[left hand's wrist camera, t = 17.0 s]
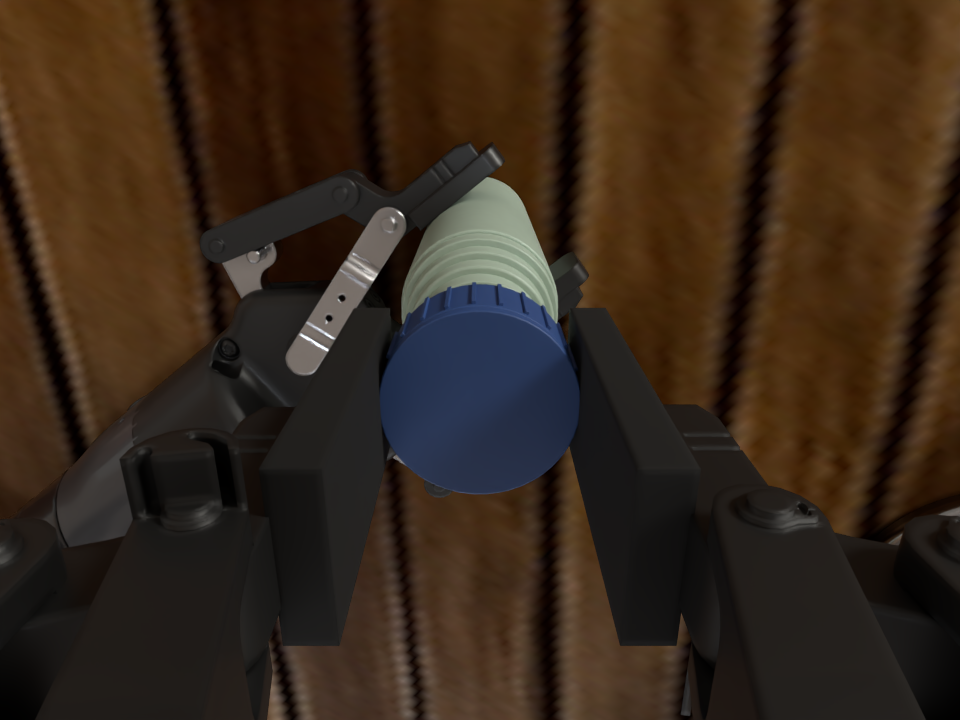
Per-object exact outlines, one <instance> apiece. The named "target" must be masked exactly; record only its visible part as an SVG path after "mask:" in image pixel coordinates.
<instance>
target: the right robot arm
mask: <svg viewBox="0 0 960 720" xmlns="http://www.w3.org/2000/svg"><path fill="white" fill-rule="evenodd" d="M504 162H505V159H504V157H503V156H502V154H501V153H500V152H499V150H498V149H497V148H496V146H495V145H494V144H493V142H491V143H490V144H488V145H487V146H486V147H484V148H483V149H482V150H481V151H479V152H478V151H477V149H476V148H475V147H474V145H473V144H472V143H471V141H469V142H466V143H463V144H460V145H456V146H455V147H454V148H452V149H451V150H450V151H449V152H448V153H446V154H445V155H444V156H443V157H442V158H440V159H439V160H438V161H437V162H436V163H434V164H433V165H432V166H431V167H430V168H428V169H427V170H426V171H425V172H424V173H422V174H421V175H420V176H419V177H418V178H416V179H415V180H414V181H413V182H412V183H410V184H409V185H408V186H407V187H405V188H404V189H402V190H400V191H395V192H390V191H386V190H384V189H382V188H380V187H378V186H377V185H375V184H373V183H372V182H370V181H369V180H367V178H366V176H365V175H364V174H363V173H362V172H360V171H358V170H355V169H349V170H346V171H343V172H341V173H339V174H336V175H334V176H332V177H329V178H327V179H324V180H322V181H320V182H317V183H315V184H313V185H310V186H308V187H305V188H303V189H301V190H298V191H296V192H294V193H291V194H289V195H287V196H284V197H282V198H279V199H277V200H275V201H272V202H270V203H268V204H265V205H263V206H261V207H258V208H256V209H253V210H251V211H249V212H246V213H244V214H242V215H239V216H237V217H234V218H232V219H230V220H228V221H226V222H224V223H222V224H220V225H218V226H216V227H214V228H212V229H210V230H208V231H206V232H205V233H204V234H203V235H202V237H201V239H200V248H201V251H202V253H203V254H204V256H205V257H206V258H207V259H209V260H210V261H212V262H215V263H222V264H223V266H224V268H225V269H226V271H227V273H228V275H229V277H230V279H231V280H232V282H233V284H234V286H235V288H236V290H237V291H238V293H239V295H240V297H241V300H240V301H239V303H238V304H237V306H236V309H235V312H234V316H233V319H232V321H231V323H230V325H229V326H228V328H227V329H225V330H224V331H223V332H222V333H221V334H220V335H218V336H217V337H216V338H215V339H214V340H212V341H211V342H210V343H209V344H208V345H206V346H205V347H204V348H203V349H202V350H200V351H199V352H198V353H197V354H196V355H194V356H193V357H192V358H191V359H190V360H188V361H187V362H186V363H185V364H184V365H182V366H181V367H180V368H179V369H178V370H176V371H175V372H174V373H173V374H172V375H170V376H169V377H168V378H167V379H166V380H164V381H163V382H162V383H161V384H160V385H158V386H157V387H156V388H155V389H154V390H153V391H151V392H150V393H149V394H148V395H146V396H144V397H142V398H140V399H139V400H137V401H136V402H134V403H133V404H132V405H131V406H130V407H129V409H128V410H127V412H126V413H125V414H124V415H123V416H121V417H120V418H119V419H118V420H117V421H115V422H114V423H113V424H112V425H110V426H109V427H108V428H107V429H106V430H105V431H104V432H103V433H102V434H101V435H100V436H99V437H98V438H97V439H96V440H95V441H94V442H93V443H92V444H91V445H90V447H89V448H88V449H87V450H86V451H85V453H84V454H83V455H82V456H81V457H80V458H79V460H78V461H77V462H76V463H74V464H73V465H72V466H71V467H70V468H69V469H68V470H67V471H66V472H65V473H63V474H62V475H61V476H60V477H58V478H57V479H56V480H55V481H54V482H52V483H51V484H50V485H49V486H48V487H46V488H45V489H44V490H43V491H42V492H40V493H39V494H38V495H37V496H36V497H34V498H32V499H31V500H30V501H29V502H28V503H26V504H25V505H24V506H23V507H22V508H20V509H19V510H18V511H17V512H16V513H15V514H14V515H13V516H11V517H10V519H16V518H34V519H40V520H45V521H47V522H48V523H50V524H51V525H52V526H53V527H55V528H56V532H57V535H58V539H59V542H60V546H61V549H62V548H67V547H73V546H78V545H83V544H89V543H94V542H99V541H104V540H109V539H113V538H117V537H122V536H125V535H126V533H127V531H128V529H129V526H130V524H131V522H132V520H133V518H132V514H131V509H130V505H129V500H128V496H127V492H126V487H125V483H124V478H123V474H122V469H121V465H120V461H119V459H120V458H121V457H122V456H123V455H124V454H125V453H126V452H127V451H128V450H129V449H130V448H131V447H133V446H135V445H137V444H139V443H141V442H142V441H144V440H146V439H148V438H151V437H154V436H157V435H160V434H164V433H167V432H170V431H176V430H182V429H189V428H214V429H218V430H223V431H227V432H229V433H231V434H232V433H233V431H234V430H235V429H236V427H237V426H238V425H239V423H240V422H241V420H243V419H245V418H246V417H248V416H250V415H251V414H253V413H254V412H256V411H258V410H259V409H261V408H262V407H296V405H297V404H298V402H299V400H300V399H301V397H302V395H303V393H304V392H305V390H306V388H307V387H308V385H309V383H310V382H311V380H312V378H313V377H314V375H315V373H316V371H317V370H318V368H319V366H320V365H321V363H322V361H323V360H324V358H325V356H326V355H327V353H328V351H329V350H330V348H331V346H332V344H333V343H334V341H335V339H336V338H337V336H338V334H339V333H340V331H341V329H342V328H343V326H344V324H345V322H346V321H347V319H348V317H349V316H350V314H351V312H352V311H353V309H354V308H386V306H385V304H384V302H383V300H382V299H381V298H380V297H379V295H378V294H377V293H376V292H375V291H374V290H373V289H372V287H371V285H372V283H373V282H374V280H375V278H376V277H377V275H378V274H379V272H380V270H381V269H382V267H383V266H384V264H385V263H386V261H387V260H388V258H389V257H390V255H391V253H392V252H393V250H394V249H395V247H396V246H397V244H398V243H399V241H400V240H401V238H402V237H404V236H405V235H406V234H407V233H408V232H410V231H411V230H412V229H413V228H415V227H416V226H417V227H418V228H419V229H420V230H422V229H423V228H425V227H426V226H427V225H428V224H430V223H431V222H432V221H433V220H435V219H436V218H437V217H438V216H439V215H440V214H441V213H443V212H444V211H446V210H447V209H448V208H449V207H451V206H452V205H453V204H454V203H456V202H457V201H458V200H459V199H461V198H462V197H463V196H464V195H465V194H467V193H468V192H469V191H470V190H472V189H473V188H474V187H475V186H477V185H478V184H479V183H480V182H482V181H483V180H484V179H485V178H487V177H488V176H489V175H490V174H491V173H493V172H494V171H495V170H496V169H498V168H499V167H500V166H501V165H502V164H503V163H504ZM341 214H345V215H346V216H348V217H350V218H351V219H353V220H355V221H356V222H358V223H360V224H361V225H363V226H365V227H366V228H365V230H364V231H363V233H362V235H361V236H360V238H359V239H358V241H357V243H356V244H355V246H354V247H353V249H352V251H351V252H350V254H349V255H348V257H347V258H346V260H345V261H344V263H343V264H342V266H341V267H340V269H339V270H338V272H337V274H336V275H335V277H334V278H333V280H325V281H299V282H273V283H270V282H269V280H268V269H269V267H270V266H271V265H272V264H274V263H275V262H276V261H277V260H279V259H280V257H281V256H282V253H283V245H282V242H281V240H280V239H283V238H285V237H288V236H290V235H292V234H295V233H297V232H300V231H302V230H305V229H307V228H309V227H312V226H314V225H317V224H319V223H321V222H324V221H326V220H329V219H331V218H334V217H336V216H338V215H341ZM549 269H550V271H551V274H552V276H553V279H554V282H555V285H556V290H557V296H558V319H557V320H559V319H560V318H561V317H562V316H564V315H566V314H567V313H568V312H569V311H570V308H575V307H576V306H577V304H578V303H579V301H580V300H581V298H582V297H583V294H582V292H581V290H580V288H579V286H580V285H581V284H583V283H584V282H585V281H586V279H587V278H588V276H589V274H588V272H587V271H586V269H585V267H584V266H583V265H582V263H581V262H580V261H579V259H578V258H577V256H576V255H575V254H574V252H570V253H568V254H566V255H564V256H563V257H561V258H560V259H559V260H557V261H556V262H555V263H553V264H552V265H551V266H549ZM390 319H391V339H393V336H394V334H395V332H399V330H400V328H401V327H402V325H401V324H399V323H398V322H396V321H395V320H393V319H392V318H391V316H390ZM391 458H394V459H396V460H398V461H399V462H401V463H403V462H402V460H401V459H400V458H399V457H398V456H397V455H396V453H395V452H394V450H393V449H392V447H391V446H390V449H389V453H388V457H387V460H390V459H391ZM403 464H404V463H403ZM404 465H405V464H404ZM424 486H425V489H426V491H427V492H428V493H429V494H430V495H432V496H434V497H439V498H440V497H445V496H448V495H449V494H450V493H451V492H452V490H448V489H445V488H442V487H439V486H437V485H434V484H432V483H430V482H428V481H426V480H425V482H424Z"/></svg>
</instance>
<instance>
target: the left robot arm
mask: <svg viewBox="0 0 960 720" xmlns="http://www.w3.org/2000/svg"><path fill="white" fill-rule="evenodd" d="M391 342H392V339H391V319H390V308H354V309H353V311H352V312H351V314H350V316H349V317H348V319H347V321H346V322H345V324H344V326H343V328H342V329H341V331H340V333H339V334H338V336H337V338H336V339H335V341H334V343H333V344H332V346H331V348H330V350H329V351H328V353H327V355H326V356H325V358H324V360H323V361H322V363H321V365H320V366H319V368H318V370H317V371H316V373H315V375H314V377H313V378H312V380H311V382H310V383H309V385H308V387H307V388H306V390H305V392H304V393H303V395H302V397H301V399H300V400H299V402H298V404H297V405H296V407H262V408H261V409H259V410H258V411H256V412H254V413H253V414H251V415H250V416H248V417H246V418H245V419H243V420H241V422H240V423H239V425H238V426H237V427H236V429H235V430H234V431H233V433H232V434H231V433H229V432H227V431H223V430H218V429H214V428H189V429H182V430H176V431H170V432H167V433H164V434H160V435H157V436H154V437H151V438H148V439H146V440H144V441H142V442H141V443H139V444H137V445H135V446H133V447H131V448H130V449H129V450H128V451H127V452H126V453H125V454H124V455H123V456H122V457H121V458H120V459H119V461H120V465H121V469H122V474H123V478H124V483H125V487H126V492H127V496H128V500H129V505H130V509H131V514H132V518H133V520H132V522H131V524H130V526H129V529H128V531H127V533H126V535H125V536H122V537H117V538H113V539H109V540H104V541H99V542H94V543H89V544H83V545H78V546H73V547H67V548H62V549H61V546H60V542H59V539H58V535H57V532H56V528H55V527H53V526H52V525H51V524H50V523H48V522H47V521H45V520H40V519H34V518H16V519H1V520H0V720H267V715H268V706H269V698H270V689H271V680H272V672H273V670H272V663H271V657H270V650H269V643H268V641H269V638H270V636H271V633H272V631H273V628H274V625H275V623H276V620H277V618H278V615H279V620H280V627H281V634H282V641H283V646H339V645H340V641H341V637H342V633H343V629H344V625H345V621H346V617H347V614H348V610H349V606H350V602H351V598H352V594H353V590H354V586H355V582H356V578H357V574H358V570H359V566H360V563H361V559H362V555H363V551H364V547H365V543H366V539H367V535H368V531H369V527H370V523H371V519H372V516H373V512H374V508H375V504H376V500H377V496H378V492H379V488H380V484H381V480H382V476H383V472H384V468H385V465H386V461H387V457H388V453H389V449H390V444H389V442H388V440H387V438H386V436H385V434H384V431H383V428H382V425H381V410H380V392H379V387H380V383H381V379H382V375H383V372H384V370H385V367H386V364H387V361H388V358H386V355H387V353H388V350H389V347H390V344H391ZM568 343H569V345H570V348H571V351H572V354H573V356H574V359H575V362H576V365H577V367H578V371H576V374H577V377H578V381H579V386H580V403H579V419H578V427H577V429H576V432H575V435H574V437H573V439H572V441H571V443H570V445H569V447H570V450H571V454H572V458H573V462H574V466H575V470H576V474H577V478H578V482H579V486H580V490H581V494H582V498H583V501H584V505H585V509H586V513H587V517H588V521H589V525H590V529H591V533H592V537H593V541H594V545H595V549H596V552H597V556H598V560H599V564H600V568H601V572H602V576H603V580H604V584H605V588H606V592H607V596H608V600H609V604H610V607H611V611H612V615H613V619H614V623H615V627H616V631H617V635H618V639H619V643H620V646H677V638H678V631H679V624H680V617H681V613H682V615H683V618H684V621H685V623H686V626H687V628H688V631H689V633H690V636H691V639H692V643H691V650H690V657H689V663H688V670H687V677H686V684H685V690H684V697H683V704H682V710H681V715H686V716H690V712H691V707H692V713H693V720H960V495H956V496H951V497H948V498H945V499H942V500H939V501H936V502H934V503H931V504H929V505H926V506H924V507H922V508H919V509H917V510H915V511H913V512H911V513H909V514H908V515H906V516H904V517H902V518H901V519H899V520H897V521H896V522H894V523H893V524H891V525H890V526H889V527H887V528H886V529H884V530H883V531H882V532H881V533H879V534H878V535H877V536H876V537H874V538H873V539H872V540H866V539H861V538H855V537H850V536H846V535H842V534H838V533H834V531H833V529H832V527H831V525H830V523H829V521H828V519H827V518H826V517H825V515H824V514H823V513H822V512H821V511H820V509H819V508H818V507H817V506H815V505H814V504H812V503H811V502H809V501H808V500H806V499H805V498H803V497H801V496H800V495H797V494H794V493H792V492H789V491H786V490H784V489H781V488H777V487H772V486H768V485H767V483H766V482H765V481H764V479H763V478H762V477H761V475H760V474H759V472H758V471H757V470H756V468H755V467H754V466H753V464H752V463H751V462H750V460H749V459H748V458H747V456H746V455H745V454H744V452H743V451H742V450H740V447H739V445H738V444H737V443H736V441H735V440H734V439H733V437H730V433H729V432H728V431H727V429H726V428H725V426H724V425H723V424H722V422H721V421H720V420H719V418H717V417H716V416H714V415H712V414H711V413H709V412H707V411H706V410H704V409H703V408H701V407H699V406H698V405H663V404H662V403H661V401H660V399H659V398H658V396H657V394H656V393H655V391H654V389H653V387H652V386H651V384H650V382H649V381H648V379H647V377H646V376H645V374H644V372H643V371H642V369H641V367H640V366H639V364H638V362H637V360H636V359H635V357H634V355H633V354H632V352H631V350H630V349H629V347H628V345H627V344H626V342H625V340H624V338H623V337H622V335H621V333H620V332H619V330H618V328H617V327H616V325H615V323H614V322H613V320H612V318H611V316H610V315H609V313H608V311H607V310H606V308H570V311H569V330H568Z"/></svg>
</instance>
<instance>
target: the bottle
mask: <svg viewBox="0 0 960 720" xmlns="http://www.w3.org/2000/svg"><path fill="white" fill-rule="evenodd" d="M472 282H476V284H488V285H495V286H497V284H501V285H502V287H504V288H508V289H511V290H514V291H516V292H519V293H521V292H524V293H525V295H526V296H527V297H528V298H530V299H532V300H533V301H534V302H536V303H537V304H538V305H540V306H542V305H544V306H545V308H546V311H547V313H548V314H549V315H550V316H551V317H552V319H553V320H554V321H555V323H556V324H557V319H558V296H557V290H556V285H555V282H554V279H553V276H552V274H551V271H550V269H549V267H548V264H547V262H546V259H545V257H544V254H543V252H542V249H541V247H540V244H539V242H538V239H537V237H536V234H535V232H534V229H533V227H532V224H531V222H530V220H529V217H528V215H527V212H526V210H525V207H524V205H523V203H522V201H521V199H520V198H519V196H518V195H517V194H516V193H515V192H514V191H513V190H512V189H511V188H510V187H509V186H507V185H506V184H504V183H503V182H501V181H498V180H496V179H493V178H488V177H487V178H485V179H484V180H483V181H482V182H480V183H479V184H478V185H477V186H475V187H474V188H473V189H472V190H470V191H469V192H468V193H467V194H465V195H464V196H463V197H462V198H461V199H459V200H458V201H457V202H456V203H454V204H453V205H452V206H451V207H449V208H448V209H447V210H446V211H444V212H443V213H441V214H440V215H439V216H438V217H437V218H436V219H435V220H433V221H432V222H431V223H430V224H428V226H427V228H426V231H425V233H424V236H423V238H422V241H421V243H420V246H419V248H418V250H417V253H416V255H415V258H414V260H413V263H412V265H411V268H410V270H409V273H408V275H407V278H406V280H405V284H404V287H403V292H402V324H403V323H404V322H405V319H406V316H407V314H408V313H409V312H410V313H412V312H413V311H414V310H415V309H416V308H417V307H418V306H420V305H421V304H422V303H424V300H425V298H426V297H429V298H431V297H433V296H435V295H436V294H438V293H441V292H443V291H446V290H447V287H450V286H451V287H452V288H455V287H459V286H464V285H472Z"/></svg>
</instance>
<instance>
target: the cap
mask: <svg viewBox="0 0 960 720" xmlns="http://www.w3.org/2000/svg"><path fill="white" fill-rule="evenodd" d="M386 358H388V361H387V364H386V367H385V370H384V372H383V375H382V379H381V383H380V387H379V392H380V410H381V425H382V428H383V431H384V434H385V436H386V438H387V440H388V442H389V444H390V446H391V447H392V449H393V450H394V452H395V453H396V455H397V456H398V457H399V458H400V459H401V460H402V462H403V463H404V464H405V465H406V466H407V467H408V468H410V469H411V470H412V471H413V472H414V473H416V474H417V475H419V476H420V477H422V478H423V479H425V480H426V481H428V482H430V483H432V484H434V485H437V486H439V487H442V488H445V489H448V490H452V491H456V492H460V493H468V494H491V493H499V492H504V491H508V490H512V489H515V488H517V487H520V486H523V485H525V484H527V483H529V482H531V481H533V480H535V479H536V478H538V477H539V476H541V475H542V474H544V473H545V472H546V471H547V470H549V469H550V468H551V467H552V466H553V465H554V464H555V463H556V462H557V461H558V460H559V459H560V458H561V456H562V455H563V454H564V452H565V451H566V450H567V448H568V447H569V445H570V443H571V441H572V439H573V437H574V435H575V432H576V429H577V427H578V419H579V403H580V386H579V381H578V377H577V374H576V371H578V367H577V365H576V362H575V359H574V356H573V354H572V351H571V348H570V345H569V343H568V344H567V342H566V340H565V337H564V334H563V331H562V328H561V325H560V324H559V323H557V324H556V323H555V321H554V320H553V319H552V317H551V316H550V315H549V314H548V313H547V311H546V308H545V306H544V305H542V306H540V305H538V304H537V303H536V302H534V301H533V300H532V299H530V298H528V297H527V296H526V295H525V293H524V292H521V293H519V292H516V291H514V290H511V289H508V288H504V287H502V285H501V284H497V286H495V285H488V284H476V282H472V285H464V286H459V287H455V288H452V287H451V286H450V287H447V290H446V291H443V292H441V293H438V294H436V295H435V296H433V297H431V298H429V297H426V298H425V300H424V303H422V304H421V305H420V306H418V307H417V308H416V309H415V310H414V311H413V312H412V313H410V312H409V313H408V314H407V316H406V319H405V322H404V323H403V325H402V327H401V328H400V330H399V332H395V334H394V336H393V339H392V342H391V344H390V347H389V350H388V353H387V355H386Z"/></svg>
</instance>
